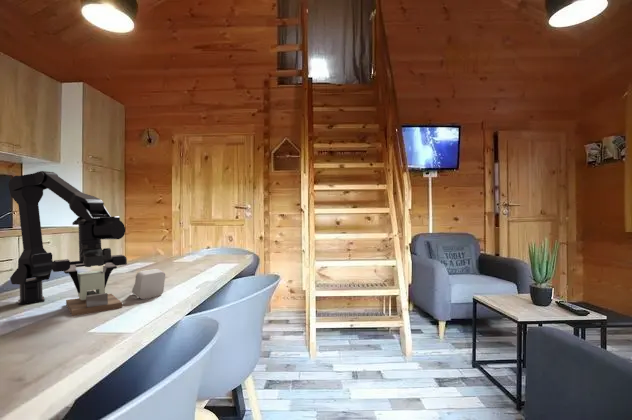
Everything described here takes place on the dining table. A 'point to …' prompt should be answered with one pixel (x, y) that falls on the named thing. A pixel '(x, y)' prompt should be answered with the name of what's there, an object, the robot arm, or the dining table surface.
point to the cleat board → (93, 303)
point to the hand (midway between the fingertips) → (91, 291)
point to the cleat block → (91, 283)
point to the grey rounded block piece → (149, 283)
